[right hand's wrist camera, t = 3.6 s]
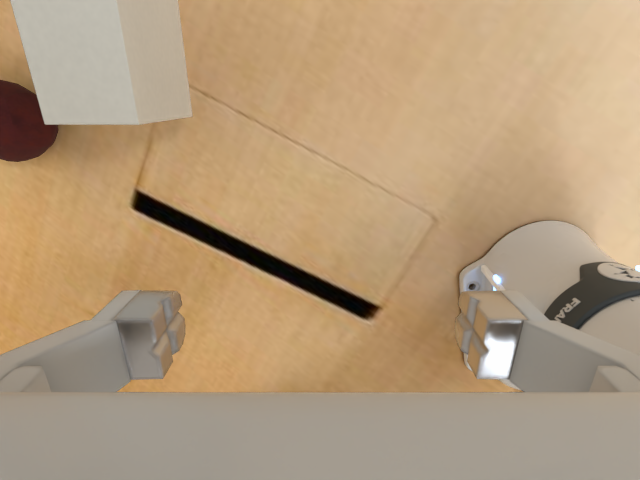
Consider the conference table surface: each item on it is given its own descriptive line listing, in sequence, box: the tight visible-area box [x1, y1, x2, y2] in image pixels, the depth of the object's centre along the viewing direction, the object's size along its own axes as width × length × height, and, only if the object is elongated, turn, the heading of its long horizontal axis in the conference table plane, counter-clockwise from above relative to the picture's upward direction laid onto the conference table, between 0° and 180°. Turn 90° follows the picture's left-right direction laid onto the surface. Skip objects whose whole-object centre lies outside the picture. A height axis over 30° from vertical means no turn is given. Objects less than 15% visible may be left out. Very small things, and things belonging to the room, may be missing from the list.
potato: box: [0, 80, 58, 162], centre depth 33 cm, size 7×8×7 cm
